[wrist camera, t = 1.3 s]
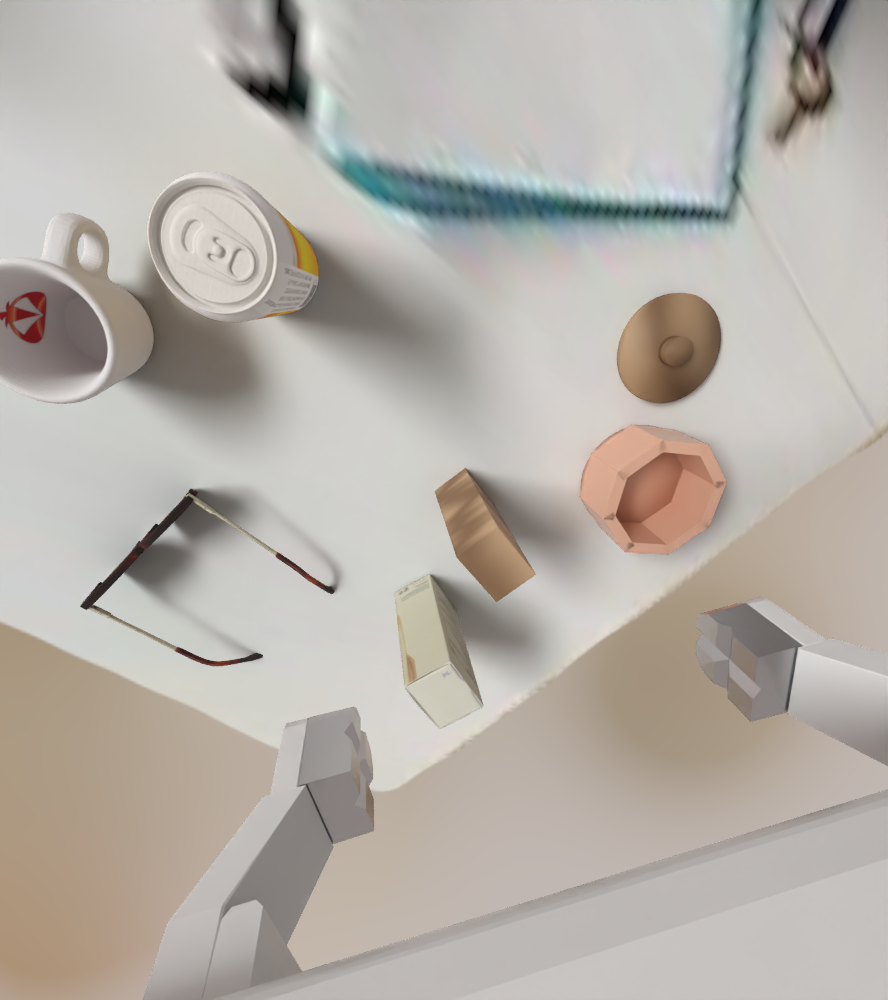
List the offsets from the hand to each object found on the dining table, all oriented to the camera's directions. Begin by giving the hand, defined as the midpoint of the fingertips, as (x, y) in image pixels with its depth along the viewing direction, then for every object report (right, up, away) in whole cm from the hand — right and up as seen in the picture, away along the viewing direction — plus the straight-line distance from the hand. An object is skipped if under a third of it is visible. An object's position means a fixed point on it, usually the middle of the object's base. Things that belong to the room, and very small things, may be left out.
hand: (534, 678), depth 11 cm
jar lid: (+17, +17, +30) cm, 39 cm away
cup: (-26, +18, +23) cm, 39 cm away
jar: (+16, +6, +34) cm, 39 cm away
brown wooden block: (0, +4, +33) cm, 33 cm away
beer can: (-14, +21, +23) cm, 34 cm away
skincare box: (-4, -7, +37) cm, 38 cm away
